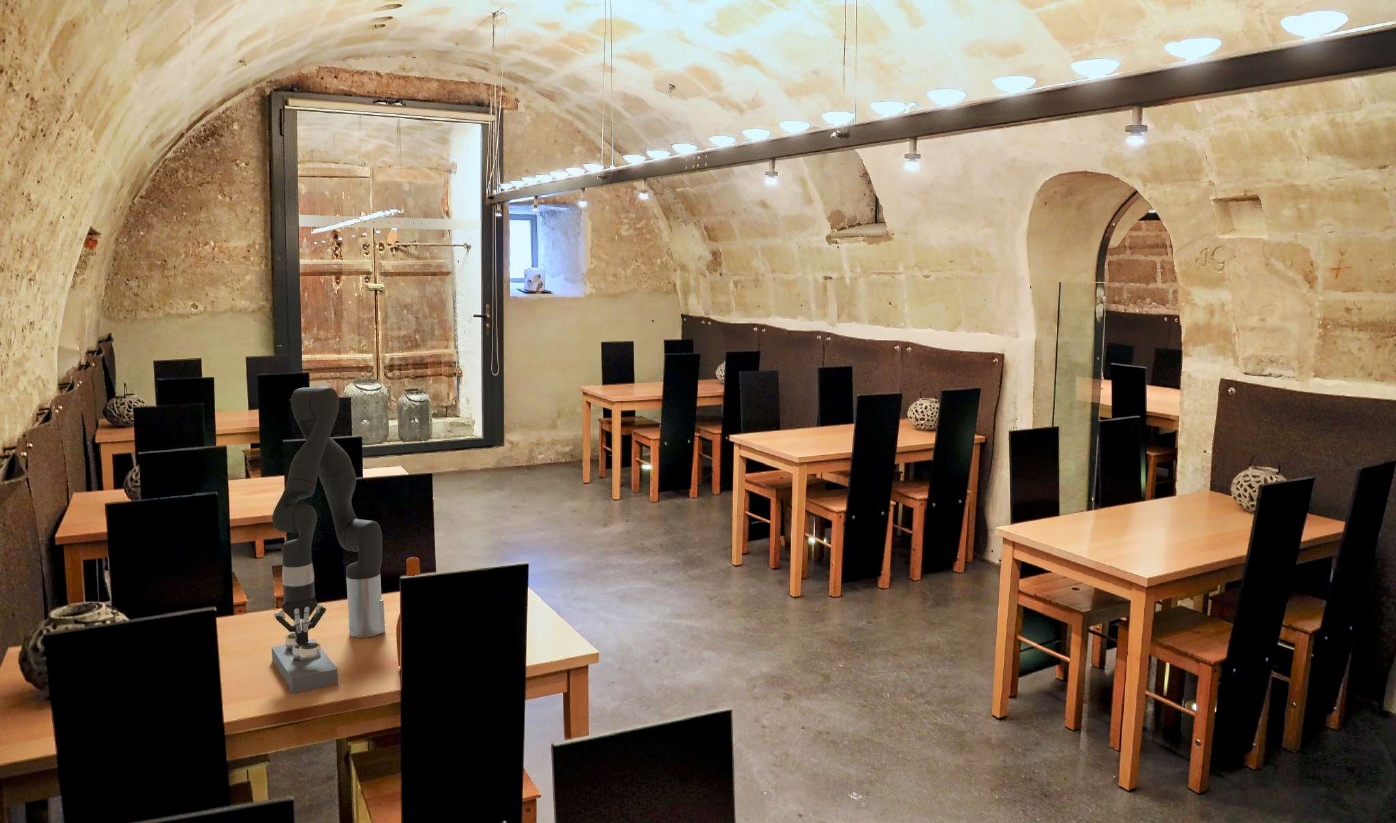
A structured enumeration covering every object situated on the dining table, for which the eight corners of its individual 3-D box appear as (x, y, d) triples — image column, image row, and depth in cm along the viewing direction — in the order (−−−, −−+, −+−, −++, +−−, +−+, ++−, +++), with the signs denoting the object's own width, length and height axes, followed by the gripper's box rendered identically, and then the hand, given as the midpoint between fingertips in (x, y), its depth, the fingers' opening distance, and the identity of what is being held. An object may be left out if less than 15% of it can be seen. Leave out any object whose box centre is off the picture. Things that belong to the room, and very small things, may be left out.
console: (315, 652, 281) (314, 638, 280) (338, 683, 260) (337, 668, 259) (272, 661, 275) (271, 647, 274) (292, 693, 254) (291, 678, 254)
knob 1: (304, 642, 277) (303, 630, 277) (308, 647, 273) (307, 636, 273) (284, 645, 275) (283, 634, 274) (288, 651, 271) (287, 640, 270)
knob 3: (318, 652, 263) (317, 640, 262) (323, 658, 259) (322, 646, 258) (297, 656, 260) (297, 644, 260) (302, 663, 256) (301, 650, 256)
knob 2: (311, 651, 270) (310, 640, 270) (315, 657, 266) (315, 646, 266) (291, 655, 268) (290, 644, 267) (295, 662, 263) (294, 650, 263)
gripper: (321, 572, 271) (325, 636, 273) (268, 581, 264) (272, 646, 266) (328, 580, 264) (332, 644, 267) (274, 588, 257) (278, 655, 260)
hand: (302, 645), depth 266 cm, fingers closed
